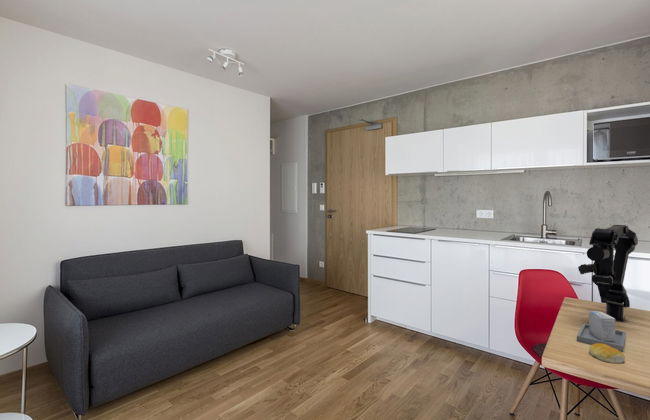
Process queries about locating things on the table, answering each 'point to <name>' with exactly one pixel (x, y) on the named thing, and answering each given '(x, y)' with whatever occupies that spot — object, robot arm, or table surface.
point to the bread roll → (606, 353)
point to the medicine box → (602, 326)
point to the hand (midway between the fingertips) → (603, 296)
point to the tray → (591, 339)
